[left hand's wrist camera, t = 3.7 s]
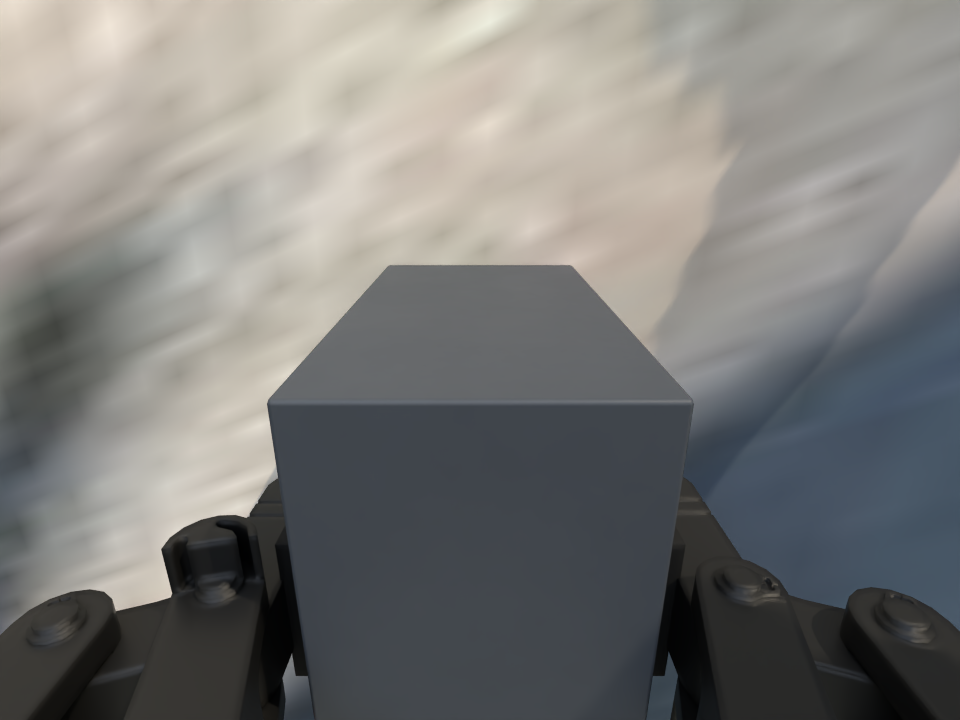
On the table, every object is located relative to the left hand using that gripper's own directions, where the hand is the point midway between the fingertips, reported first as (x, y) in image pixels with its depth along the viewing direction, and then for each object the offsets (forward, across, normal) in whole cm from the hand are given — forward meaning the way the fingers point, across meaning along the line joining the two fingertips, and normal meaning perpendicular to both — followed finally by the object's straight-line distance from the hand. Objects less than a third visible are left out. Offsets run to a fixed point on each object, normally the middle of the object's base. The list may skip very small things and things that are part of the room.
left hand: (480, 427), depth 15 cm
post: (+1, 0, -27) cm, 27 cm away
